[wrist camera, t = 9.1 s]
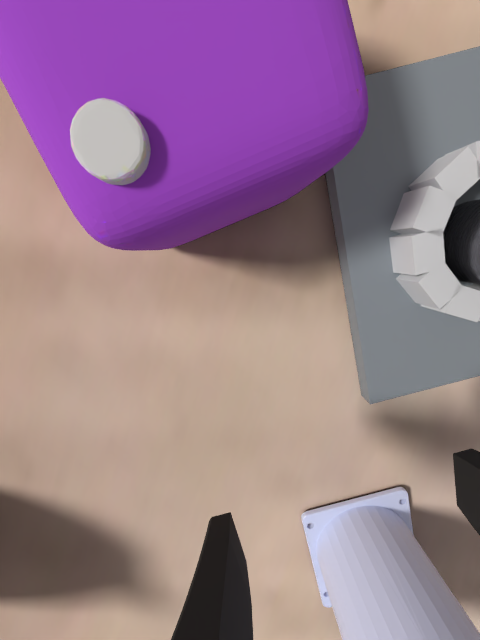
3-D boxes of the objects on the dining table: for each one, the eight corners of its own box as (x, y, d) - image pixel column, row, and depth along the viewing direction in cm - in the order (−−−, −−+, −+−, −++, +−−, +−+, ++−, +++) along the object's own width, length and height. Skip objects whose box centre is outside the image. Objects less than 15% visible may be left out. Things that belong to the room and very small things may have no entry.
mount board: (559, 343, 20) (628, 362, 17) (361, 395, 20) (390, 425, 17) (565, 34, 16) (659, -25, 12) (313, 99, 16) (338, 57, 12)
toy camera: (189, -103, 14) (112, -977, 4) (330, 171, 17) (482, 64, 7) (6, 41, 14) (-434, -386, 5) (174, 277, 18) (117, 312, 8)
